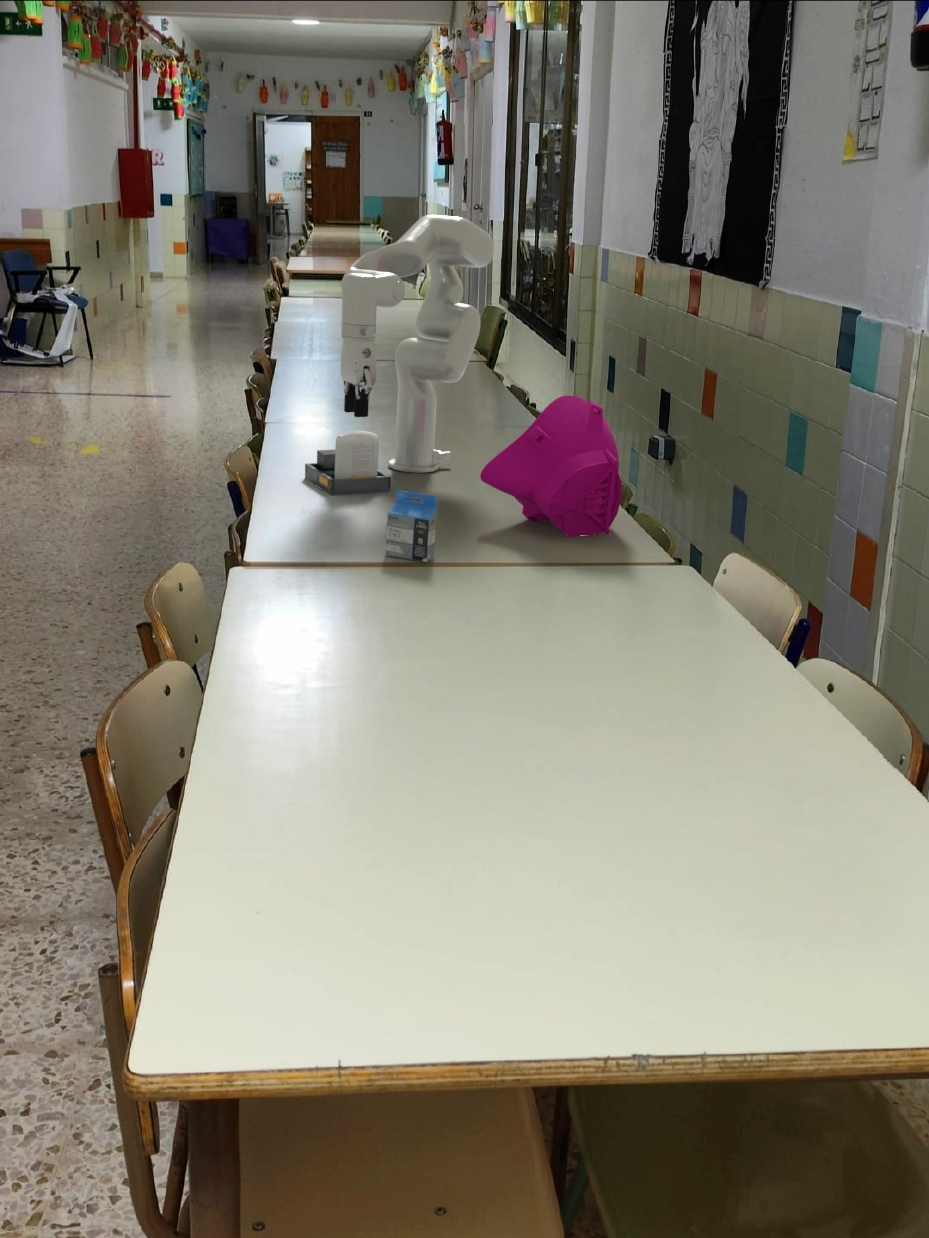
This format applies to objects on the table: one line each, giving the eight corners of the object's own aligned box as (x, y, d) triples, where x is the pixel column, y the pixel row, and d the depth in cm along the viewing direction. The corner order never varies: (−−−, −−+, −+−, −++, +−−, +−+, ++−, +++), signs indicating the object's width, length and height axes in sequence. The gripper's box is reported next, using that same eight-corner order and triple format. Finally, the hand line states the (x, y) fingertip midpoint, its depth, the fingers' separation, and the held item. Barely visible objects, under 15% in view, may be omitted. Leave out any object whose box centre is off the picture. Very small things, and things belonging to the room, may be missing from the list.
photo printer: (371, 480, 281) (373, 428, 277) (380, 485, 278) (382, 431, 273) (331, 483, 276) (332, 430, 272) (339, 488, 273) (340, 434, 268)
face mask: (638, 550, 257) (509, 577, 248) (592, 495, 274) (469, 518, 264) (656, 437, 240) (517, 461, 231) (605, 386, 256) (474, 406, 247)
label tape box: (384, 556, 230) (386, 493, 226) (393, 550, 234) (395, 489, 229) (426, 563, 227) (430, 500, 223) (434, 558, 231) (438, 495, 227)
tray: (362, 474, 290) (363, 446, 288) (390, 491, 277) (391, 461, 274) (304, 478, 283) (304, 449, 281) (330, 495, 270) (331, 465, 267)
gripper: (390, 337, 259) (386, 421, 266) (359, 326, 273) (356, 406, 280) (358, 337, 256) (355, 422, 262) (328, 326, 270) (326, 407, 276)
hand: (356, 413), depth 271 cm, fingers open, 4 cm apart
